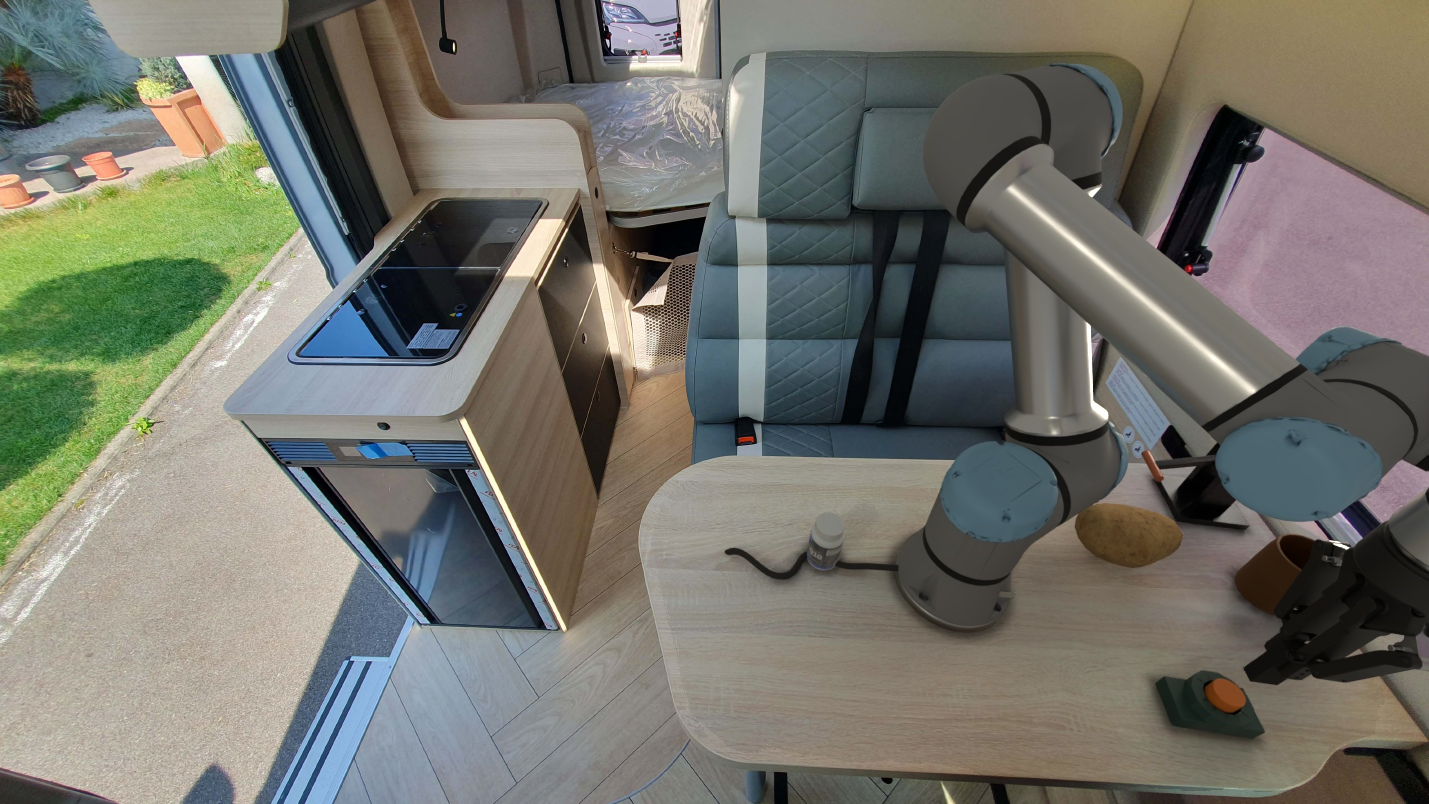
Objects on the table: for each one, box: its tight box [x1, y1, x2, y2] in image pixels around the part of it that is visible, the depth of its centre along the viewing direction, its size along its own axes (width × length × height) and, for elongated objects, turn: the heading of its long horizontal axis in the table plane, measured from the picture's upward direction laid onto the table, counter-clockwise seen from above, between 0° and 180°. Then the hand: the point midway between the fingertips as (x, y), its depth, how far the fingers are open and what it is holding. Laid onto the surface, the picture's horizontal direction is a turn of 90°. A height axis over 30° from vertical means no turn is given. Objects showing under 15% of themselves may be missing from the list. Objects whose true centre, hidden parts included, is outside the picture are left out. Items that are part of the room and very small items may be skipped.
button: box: [1205, 679, 1246, 713], centre depth 67 cm, size 3×3×2 cm
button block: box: [1154, 669, 1266, 740], centre depth 69 cm, size 9×6×4 cm
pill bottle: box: [806, 511, 846, 571], centre depth 82 cm, size 5×5×8 cm
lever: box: [1140, 450, 1216, 482], centre depth 88 cm, size 13×6×2 cm, turn 81°
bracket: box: [1152, 442, 1250, 531], centre depth 89 cm, size 10×9×13 cm
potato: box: [1074, 502, 1184, 569], centre depth 84 cm, size 10×14×8 cm
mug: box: [1234, 533, 1316, 616], centre depth 77 cm, size 12×8×9 cm, turn 172°
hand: (1259, 676), depth 63 cm, fingers closed
